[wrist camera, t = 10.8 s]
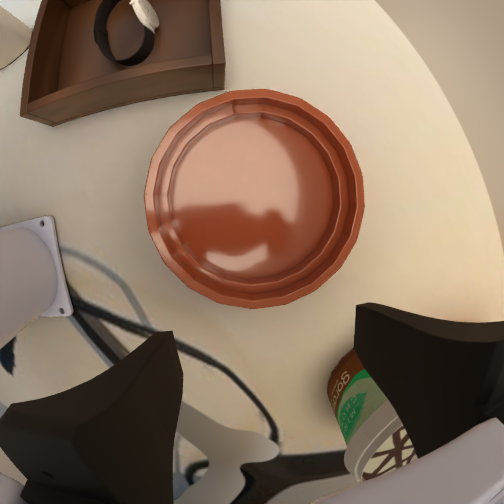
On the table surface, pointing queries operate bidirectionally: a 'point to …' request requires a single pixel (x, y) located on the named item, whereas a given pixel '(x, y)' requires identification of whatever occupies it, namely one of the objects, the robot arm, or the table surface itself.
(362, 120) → the table surface
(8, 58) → the eye dropper bottle
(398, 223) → the table surface
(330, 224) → the bowl
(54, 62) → the holder
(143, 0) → the watch
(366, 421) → the food container
